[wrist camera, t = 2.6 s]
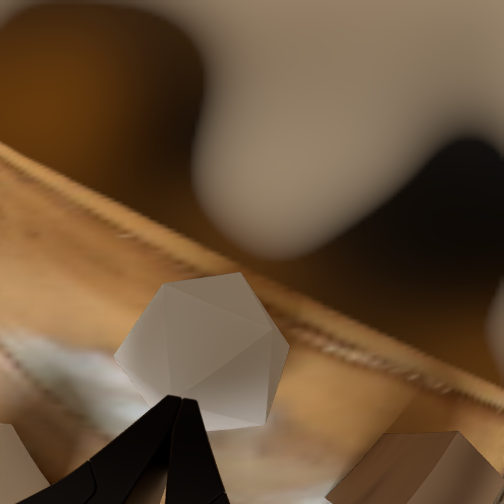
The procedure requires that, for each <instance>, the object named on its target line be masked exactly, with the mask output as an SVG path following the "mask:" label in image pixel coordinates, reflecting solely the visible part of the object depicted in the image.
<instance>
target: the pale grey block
mask: <svg viewBox="0 0 504 504" xmlns="http://www.w3.org/2000/svg"><path fill="white" fill-rule="evenodd" d="M48 486H50V484H49V483H48V481H47V480H46V478H45V477H44V476H43V474H42V473H41V471H40V470H39V468H38V467H37V465H36V464H35V462H34V461H33V459H32V458H31V456H30V455H29V453H28V451H27V450H26V448H25V446H24V445H23V443H22V441H21V440H20V438H19V436H18V435H17V433H16V431H15V429H14V427H13V426H12V424H2V423H0V504H15V503H17V502H19V501H21V500H23V499H25V498H27V497H29V496H31V495H33V494H35V493H37V492H39V491H41V490H43V489H45V488H47V487H48Z"/></svg>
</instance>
